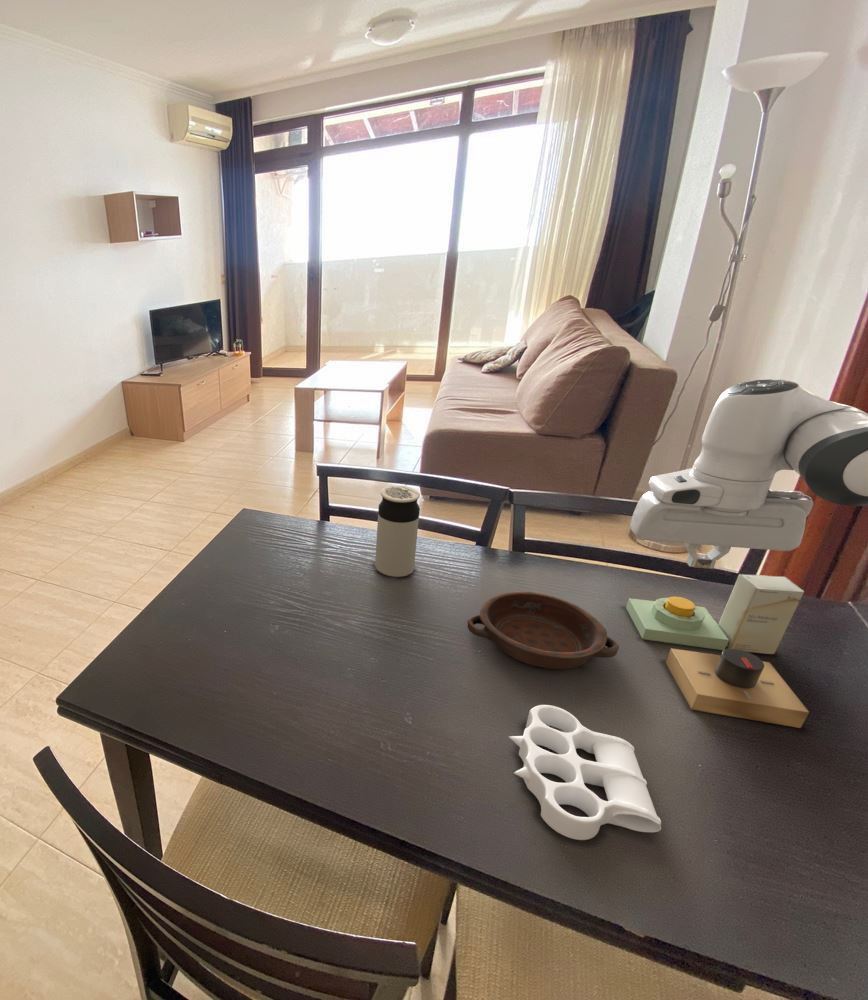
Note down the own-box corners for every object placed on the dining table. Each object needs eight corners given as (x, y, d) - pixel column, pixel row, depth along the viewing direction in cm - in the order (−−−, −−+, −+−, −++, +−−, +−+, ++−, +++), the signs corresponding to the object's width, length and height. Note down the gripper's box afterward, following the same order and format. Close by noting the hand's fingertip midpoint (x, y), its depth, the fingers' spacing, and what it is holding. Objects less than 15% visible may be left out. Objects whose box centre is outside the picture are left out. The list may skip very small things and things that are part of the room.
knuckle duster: (666, 865, 59) (516, 824, 65) (621, 737, 74) (502, 712, 80) (675, 846, 58) (520, 805, 63) (627, 719, 73) (505, 695, 78)
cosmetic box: (728, 651, 87) (755, 589, 82) (712, 633, 91) (737, 573, 86) (776, 655, 86) (806, 591, 80) (758, 636, 89) (785, 575, 84)
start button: (687, 606, 92) (690, 598, 92) (696, 619, 89) (699, 610, 89) (661, 603, 94) (664, 595, 93) (669, 615, 91) (672, 607, 90)
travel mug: (387, 581, 112) (393, 504, 105) (368, 562, 119) (372, 488, 112) (421, 573, 114) (429, 496, 106) (399, 555, 121) (406, 482, 113)
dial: (709, 664, 81) (717, 644, 79) (747, 670, 79) (756, 650, 78) (722, 684, 77) (731, 664, 76) (762, 691, 76) (771, 670, 74)
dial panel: (762, 677, 82) (770, 661, 80) (800, 728, 73) (810, 711, 72) (665, 662, 86) (671, 647, 85) (691, 709, 78) (698, 693, 76)
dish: (462, 604, 103) (465, 582, 101) (598, 622, 96) (604, 599, 94) (469, 666, 89) (473, 642, 87) (630, 693, 81) (639, 667, 79)
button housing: (700, 617, 95) (708, 598, 93) (724, 650, 87) (733, 631, 86) (625, 607, 99) (631, 589, 97) (642, 639, 91) (648, 620, 89)
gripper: (804, 483, 80) (772, 562, 86) (638, 476, 88) (618, 550, 93) (831, 501, 75) (795, 584, 81) (652, 492, 82) (630, 569, 88)
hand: (699, 565), depth 87 cm, fingers closed
